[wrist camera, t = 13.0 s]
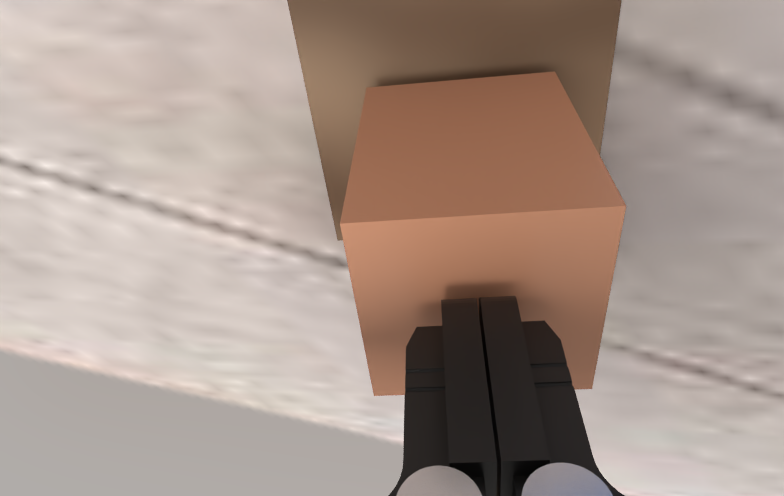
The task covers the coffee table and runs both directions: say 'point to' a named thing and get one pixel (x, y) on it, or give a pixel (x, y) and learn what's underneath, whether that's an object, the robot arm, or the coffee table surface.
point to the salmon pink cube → (478, 214)
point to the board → (443, 57)
